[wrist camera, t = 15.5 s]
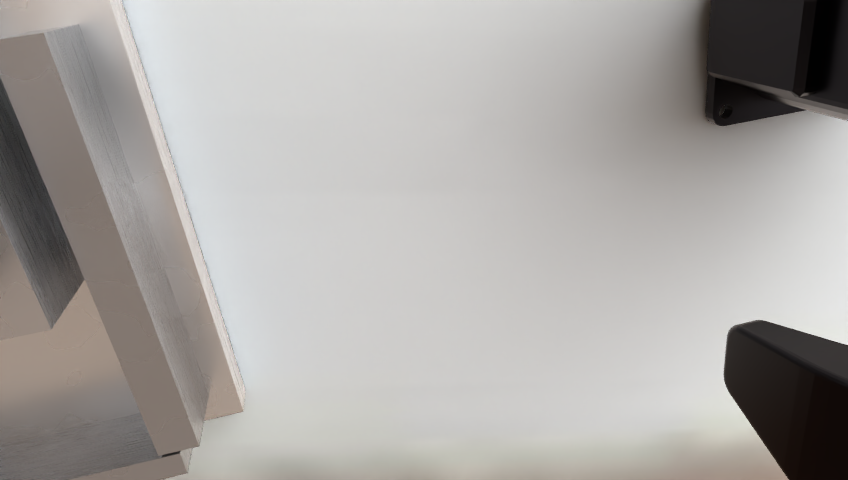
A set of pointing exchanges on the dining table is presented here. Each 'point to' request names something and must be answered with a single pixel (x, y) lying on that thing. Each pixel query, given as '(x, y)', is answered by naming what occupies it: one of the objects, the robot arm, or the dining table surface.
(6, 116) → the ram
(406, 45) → the dining table surface
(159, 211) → the press base
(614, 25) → the dining table surface
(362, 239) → the dining table surface
